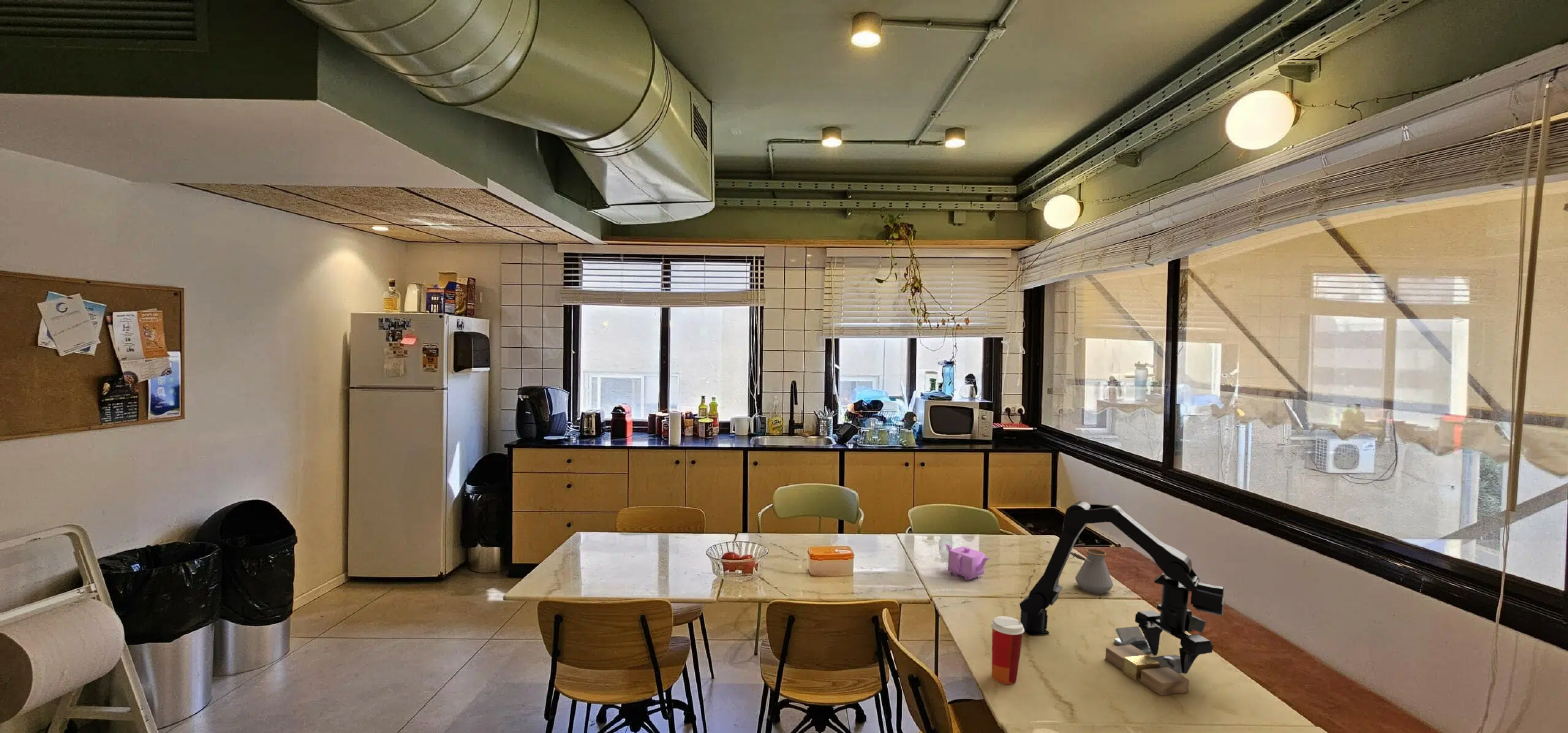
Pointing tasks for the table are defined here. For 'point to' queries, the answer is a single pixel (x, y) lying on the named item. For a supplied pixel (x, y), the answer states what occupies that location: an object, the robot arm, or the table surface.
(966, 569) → the teapot
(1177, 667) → the dark grey rounded block
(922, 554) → the table surface
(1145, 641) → the v block
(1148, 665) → the block
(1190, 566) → the robot arm
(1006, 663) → the paper cup
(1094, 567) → the coffee pot
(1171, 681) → the beam
